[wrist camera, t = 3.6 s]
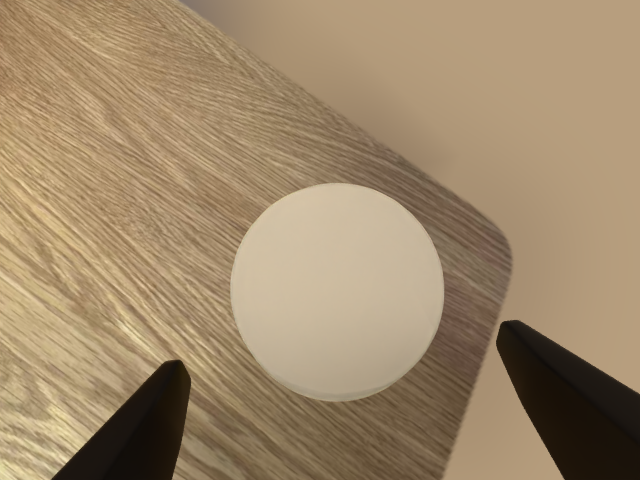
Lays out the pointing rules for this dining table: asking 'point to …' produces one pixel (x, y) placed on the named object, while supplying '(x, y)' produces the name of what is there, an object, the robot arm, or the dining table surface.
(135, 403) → the robot arm
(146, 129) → the dining table surface
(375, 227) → the pill bottle
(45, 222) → the dining table surface
